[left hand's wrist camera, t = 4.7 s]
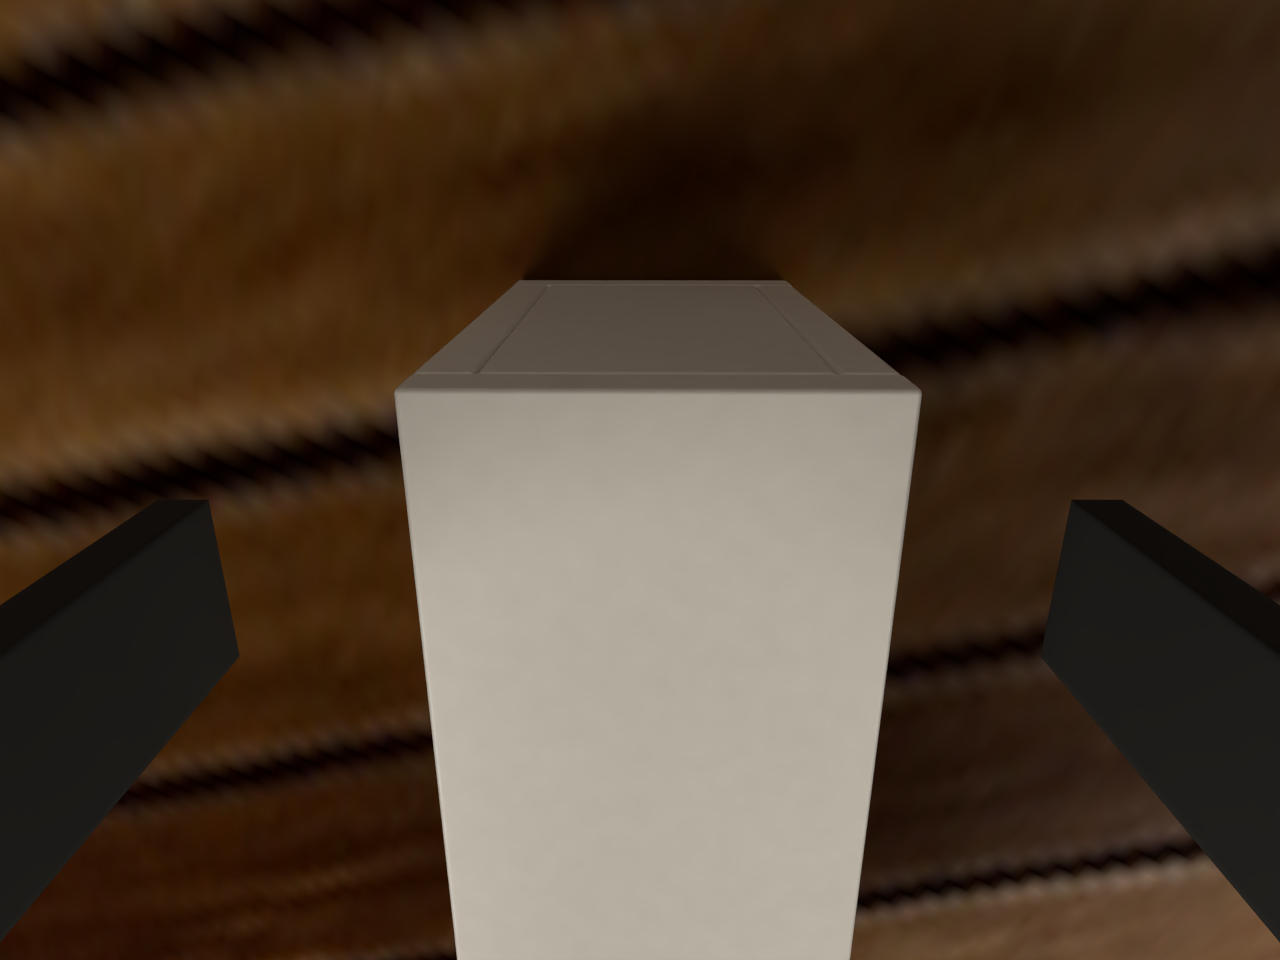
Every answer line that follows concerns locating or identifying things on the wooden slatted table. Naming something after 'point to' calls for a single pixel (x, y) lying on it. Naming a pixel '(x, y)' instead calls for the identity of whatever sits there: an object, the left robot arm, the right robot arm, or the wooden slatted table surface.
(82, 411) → the wooden slatted table surface
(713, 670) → the cabinet
